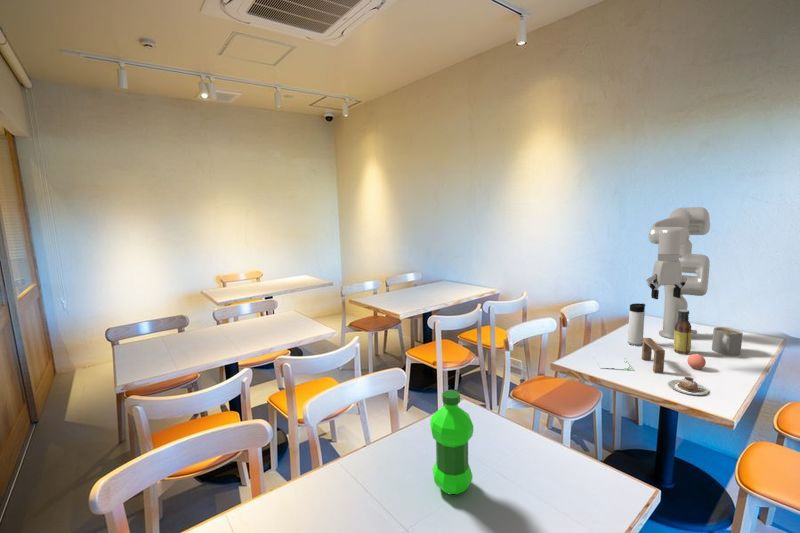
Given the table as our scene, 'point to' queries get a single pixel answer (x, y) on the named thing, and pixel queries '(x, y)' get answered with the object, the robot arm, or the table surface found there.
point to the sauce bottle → (682, 333)
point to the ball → (696, 361)
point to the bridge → (658, 354)
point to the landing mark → (629, 366)
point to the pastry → (688, 386)
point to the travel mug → (636, 324)
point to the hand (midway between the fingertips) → (665, 298)
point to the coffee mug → (727, 341)
